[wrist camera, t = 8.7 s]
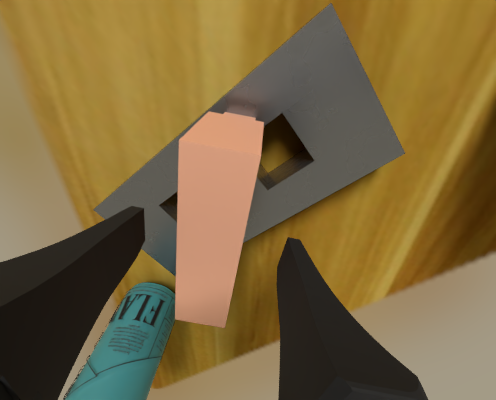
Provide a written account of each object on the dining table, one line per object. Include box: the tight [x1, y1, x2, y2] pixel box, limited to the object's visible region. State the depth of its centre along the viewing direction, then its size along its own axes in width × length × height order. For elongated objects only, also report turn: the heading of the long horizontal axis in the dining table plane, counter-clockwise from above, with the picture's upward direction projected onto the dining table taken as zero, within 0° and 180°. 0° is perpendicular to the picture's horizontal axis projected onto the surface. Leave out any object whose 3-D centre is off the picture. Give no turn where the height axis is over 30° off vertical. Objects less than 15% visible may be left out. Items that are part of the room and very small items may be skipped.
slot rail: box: [94, 3, 405, 276], centre depth 20 cm, size 10×22×3 cm, turn 128°
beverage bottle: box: [64, 283, 176, 400], centre depth 22 cm, size 6×7×20 cm
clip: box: [175, 112, 264, 328], centre depth 15 cm, size 3×11×8 cm, turn 170°
